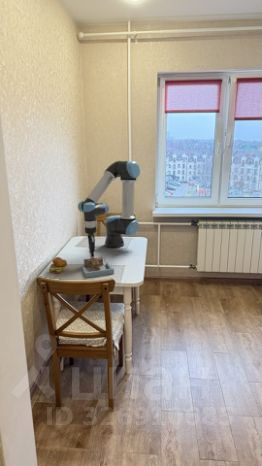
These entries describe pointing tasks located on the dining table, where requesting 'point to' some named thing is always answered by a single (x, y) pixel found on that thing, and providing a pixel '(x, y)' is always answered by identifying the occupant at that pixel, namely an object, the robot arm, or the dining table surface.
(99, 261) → the t block
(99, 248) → the dining table surface
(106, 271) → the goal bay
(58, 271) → the cheeseburger
